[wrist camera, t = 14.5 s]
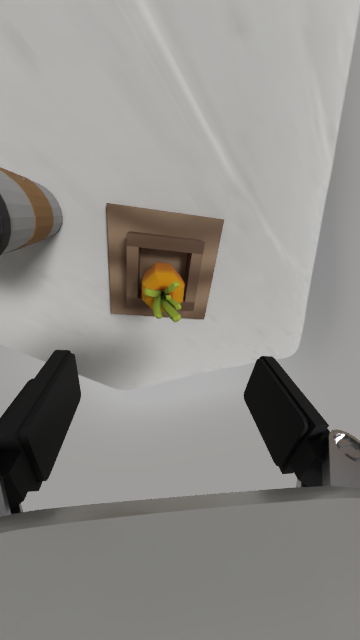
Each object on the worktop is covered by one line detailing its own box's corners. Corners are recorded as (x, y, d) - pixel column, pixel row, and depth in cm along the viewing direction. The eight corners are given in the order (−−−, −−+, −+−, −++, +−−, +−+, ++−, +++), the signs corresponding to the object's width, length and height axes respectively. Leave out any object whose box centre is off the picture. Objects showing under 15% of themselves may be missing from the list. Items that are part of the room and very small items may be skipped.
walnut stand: (108, 203, 26) (99, 201, 22) (222, 219, 29) (232, 220, 25) (112, 310, 34) (106, 323, 30) (203, 316, 36) (208, 329, 32)
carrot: (139, 258, 29) (125, 294, 16) (171, 247, 29) (183, 274, 16) (151, 288, 32) (148, 341, 18) (181, 279, 31) (199, 325, 18)
